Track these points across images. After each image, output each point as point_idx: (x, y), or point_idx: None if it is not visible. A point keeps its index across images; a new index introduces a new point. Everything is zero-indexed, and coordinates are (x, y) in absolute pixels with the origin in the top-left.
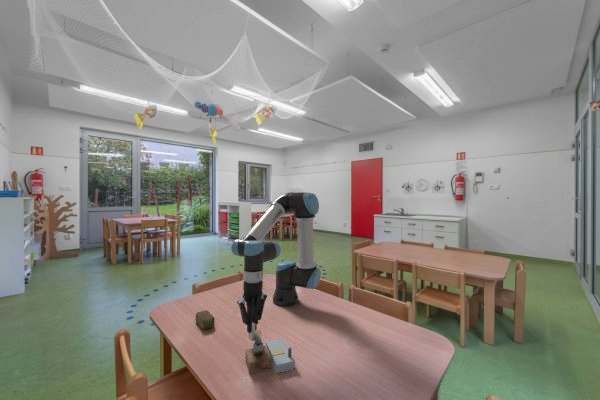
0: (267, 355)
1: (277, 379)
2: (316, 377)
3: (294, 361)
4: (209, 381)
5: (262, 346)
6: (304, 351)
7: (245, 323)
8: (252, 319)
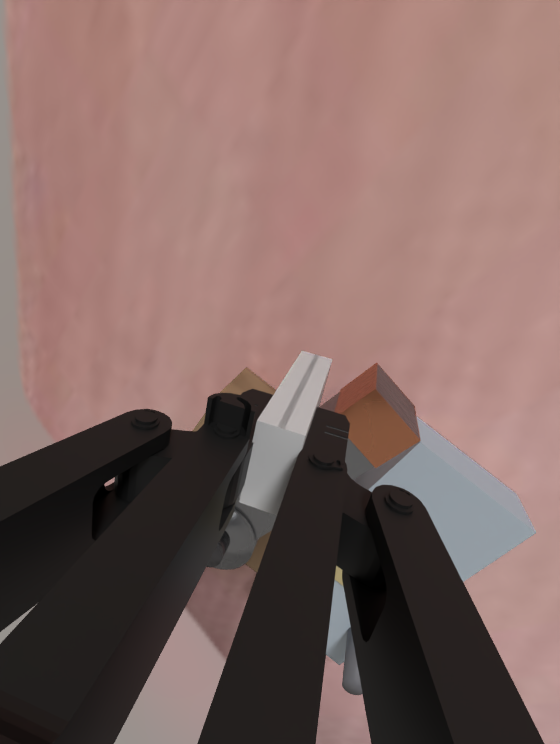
0: (263, 547)
1: (239, 577)
2: (347, 705)
3: (337, 659)
4: (34, 319)
5: (226, 564)
6: (520, 630)
7: (115, 484)
8: (208, 556)
